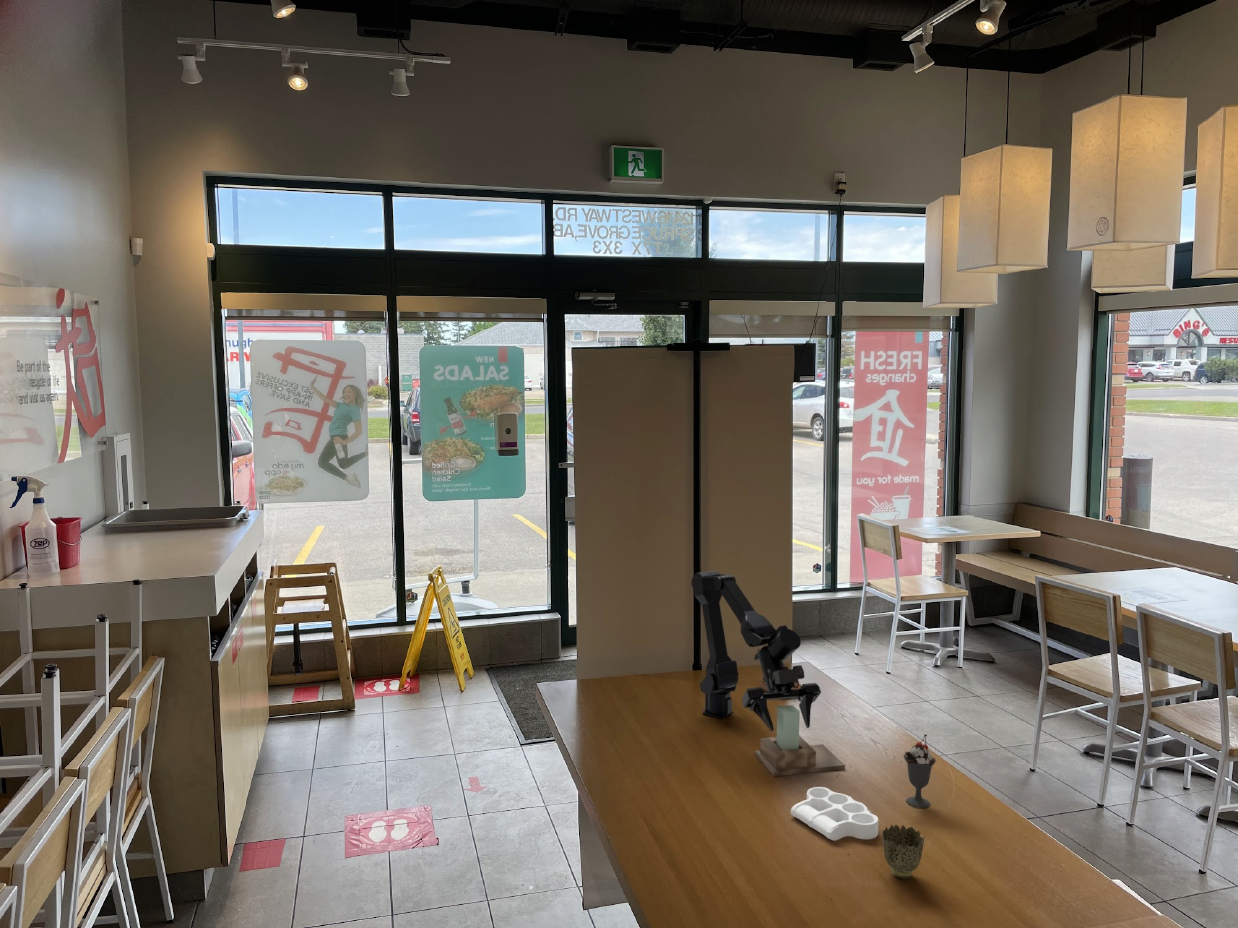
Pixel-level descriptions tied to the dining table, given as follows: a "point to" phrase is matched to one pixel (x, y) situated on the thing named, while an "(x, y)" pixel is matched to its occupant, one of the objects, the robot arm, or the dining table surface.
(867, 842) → the dining table surface
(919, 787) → the sundae
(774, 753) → the wooden socket base
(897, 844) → the cup
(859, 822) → the white brass knuckles
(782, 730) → the sage green square pillar
